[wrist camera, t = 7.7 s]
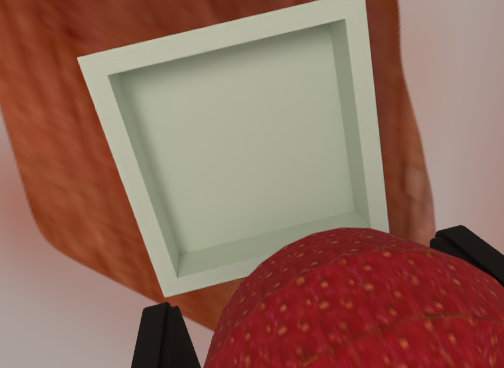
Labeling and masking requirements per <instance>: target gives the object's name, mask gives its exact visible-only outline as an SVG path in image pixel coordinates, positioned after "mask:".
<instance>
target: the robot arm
mask: <svg viewBox="0 0 504 368" xmlns="http://www.w3.org/2000/svg"><path fill="white" fill-rule="evenodd" d="M430 248H432V249H435V250H438V251H440V252H443V253H446V254H449V255H451V256H454V257H457V258H459V259H462V260H464V261H466V262H468V263H470V264H471V265H473V266H475V267H476V268H478V269H480V270H482V271H483V272H485V273H487V274H488V275H490V276H492V277H494V278H495V279H496V280H497V281H498V282H499V283H500V285H501V286H502V287H503V288H504V255H503V254H501V253H500V252H499V251H497V250H496V249H494V248H493V247H492V246H490V245H489V244H487V243H486V242H485V241H484V240H482V239H480V238H479V237H478V236H477V235H476V234H474V233H473V232H471V231H470V230H469V229H467V228H466V227H464V226H462V225H459V226H455V227H451V228H448V229H443V230H440V231H437V232H436V235H435V238H433V239H431V240H430ZM131 368H201V367H200V364H199V361H198V358H197V355H196V353H195V350H194V347H193V344H192V342H191V339H190V336H189V333H188V330H187V328H186V325H185V322H184V320H183V317H182V314H181V311H180V309H179V307H178V306H175V307H171V306H170V304H169V303H168V302H165V303H161V304H158V305H154V306H150V307H146V308H144V309H143V312H142V317H141V322H140V327H139V332H138V336H137V341H136V346H135V351H134V356H133V360H132V366H131Z"/></svg>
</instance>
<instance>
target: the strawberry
mask: <svg viewBox="0 0 504 368" xmlns="http://www.w3.org/2000/svg"><path fill="white" fill-rule="evenodd" d="M203 368H504V288H503V287H502V286H501V285H500V283H499V282H498V281H497V280H496V279H495V278H494V277H492V276H490V275H488V274H487V273H485V272H483V271H482V270H480V269H478V268H476V267H475V266H473V265H471V264H470V263H468V262H466V261H464V260H462V259H459V258H457V257H454V256H451V255H449V254H446V253H443V252H440V251H438V250H435V249H432V248H429V247H427V246H424V245H421V244H419V243H416V242H413V241H410V240H408V239H405V238H402V237H399V236H397V235H394V234H390V233H386V232H383V231H379V230H375V229H372V228H349V227H341V228H336V229H331V230H327V231H322V232H317V233H313V234H311V235H308V236H306V237H304V238H302V239H299V240H297V241H295V242H293V243H290V244H288V245H286V246H284V247H283V248H281V249H280V250H279V251H277V252H276V253H274V254H273V255H272V256H270V257H269V258H267V259H266V260H265V261H263V262H262V263H260V264H259V265H258V267H257V268H256V269H255V270H254V271H253V272H252V273H251V274H250V275H249V276H248V277H247V278H246V279H245V280H244V281H243V282H242V283H241V285H240V286H239V287H238V289H237V290H236V292H235V293H234V295H233V296H232V298H231V299H230V301H229V303H228V304H227V306H226V307H225V309H224V310H223V313H222V315H221V318H220V320H219V323H218V325H217V328H216V330H215V333H214V335H213V338H212V341H211V345H210V348H209V351H208V354H207V358H206V361H205V364H204V367H203Z"/></svg>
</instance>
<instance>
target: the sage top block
mask: <svg viewBox="0 0 504 368" xmlns="http://www.w3.org/2000/svg"><path fill="white" fill-rule="evenodd" d="M77 59H78V62H79V65H80V67H81V70H82V73H83V76H84V78H85V81H86V84H87V87H88V89H89V92H90V95H91V98H92V100H93V103H94V106H95V108H96V111H97V114H98V117H99V119H100V122H101V125H102V128H103V130H104V133H105V136H106V139H107V141H108V144H109V147H110V150H111V152H112V155H113V158H114V160H115V163H116V166H117V169H118V171H119V174H120V177H121V180H122V182H123V185H124V188H125V191H126V193H127V196H128V199H129V201H130V204H131V207H132V210H133V212H134V215H135V218H136V221H137V223H138V226H139V229H140V232H141V234H142V237H143V240H144V243H145V245H146V248H147V251H148V253H149V256H150V259H151V262H152V264H153V267H154V270H155V273H156V275H157V278H158V281H159V284H160V286H161V289H162V292H163V295H164V297H169V296H173V295H177V294H181V293H184V292H188V291H192V290H196V289H200V288H204V287H208V286H212V285H216V284H219V283H223V282H227V281H231V280H235V279H239V278H243V277H247V276H249V275H250V274H251V273H252V272H253V271H254V270H255V269H256V268H257V267H258V265H259V264H260V263H262V262H263V261H265V260H266V259H267V258H269V257H270V256H272V255H273V254H274V253H276V252H277V251H279V250H280V249H281V248H283V247H284V246H286V245H288V244H290V243H293V242H295V241H297V240H299V239H302V238H304V237H306V236H308V235H311V234H313V233H317V232H322V231H327V230H331V229H336V228H341V227H349V228H372V229H375V230H379V231H383V232H386V233H389V224H388V214H387V205H386V195H385V186H384V176H383V167H382V157H381V148H380V138H379V128H378V119H377V109H376V100H375V90H374V81H373V71H372V62H371V52H370V43H369V33H368V24H367V14H366V4H365V0H318V1H314V2H310V3H306V4H301V5H297V6H293V7H289V8H285V9H280V10H276V11H272V12H268V13H263V14H259V15H255V16H251V17H246V18H242V19H238V20H234V21H230V22H225V23H221V24H217V25H213V26H208V27H204V28H200V29H196V30H191V31H187V32H183V33H179V34H175V35H170V36H166V37H162V38H158V39H153V40H149V41H145V42H141V43H136V44H132V45H128V46H124V47H120V48H115V49H111V50H107V51H103V52H98V53H94V54H90V55H86V56H81V57H77Z"/></svg>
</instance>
